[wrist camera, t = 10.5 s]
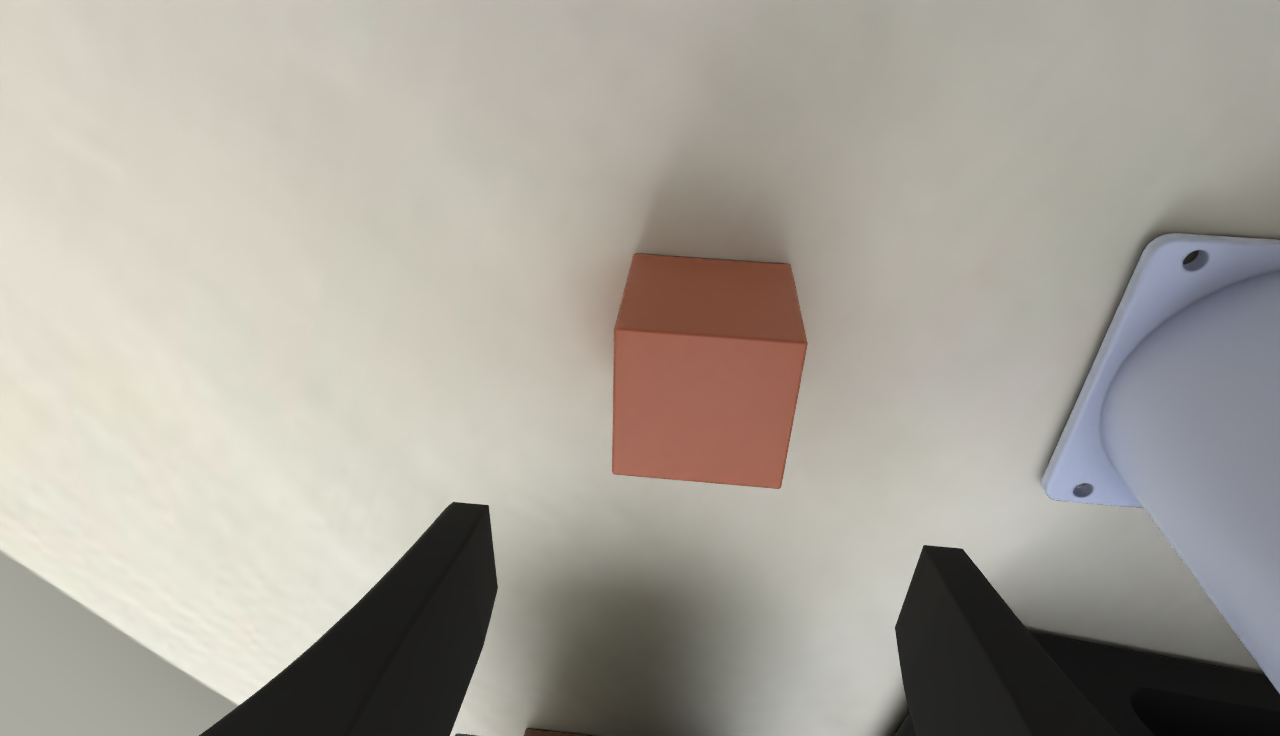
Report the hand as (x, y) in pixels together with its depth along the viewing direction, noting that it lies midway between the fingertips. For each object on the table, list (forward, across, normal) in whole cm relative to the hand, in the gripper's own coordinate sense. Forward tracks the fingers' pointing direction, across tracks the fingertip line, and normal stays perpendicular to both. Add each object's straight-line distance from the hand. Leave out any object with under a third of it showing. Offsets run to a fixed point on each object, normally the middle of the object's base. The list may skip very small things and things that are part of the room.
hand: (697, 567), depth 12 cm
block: (+8, 0, 0) cm, 8 cm away
